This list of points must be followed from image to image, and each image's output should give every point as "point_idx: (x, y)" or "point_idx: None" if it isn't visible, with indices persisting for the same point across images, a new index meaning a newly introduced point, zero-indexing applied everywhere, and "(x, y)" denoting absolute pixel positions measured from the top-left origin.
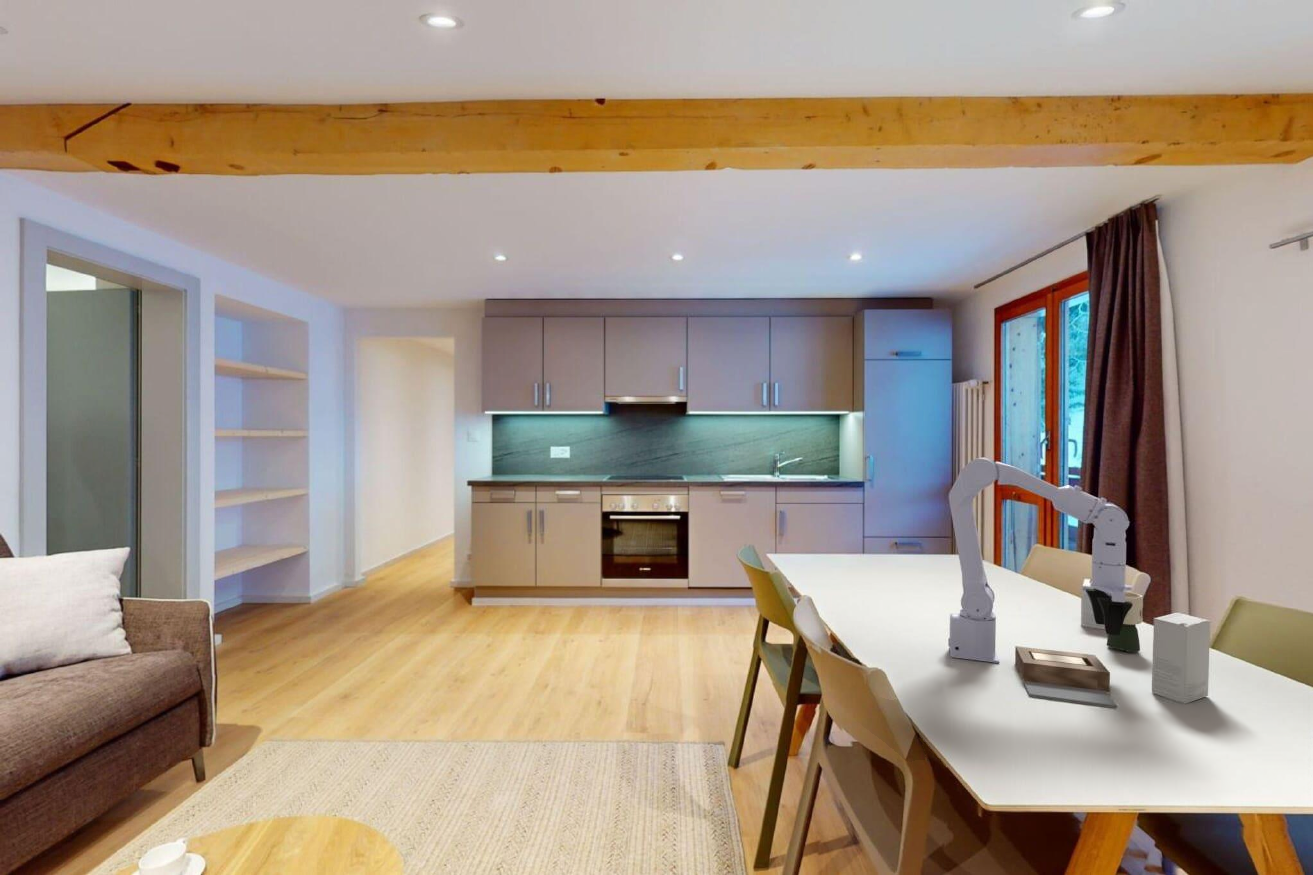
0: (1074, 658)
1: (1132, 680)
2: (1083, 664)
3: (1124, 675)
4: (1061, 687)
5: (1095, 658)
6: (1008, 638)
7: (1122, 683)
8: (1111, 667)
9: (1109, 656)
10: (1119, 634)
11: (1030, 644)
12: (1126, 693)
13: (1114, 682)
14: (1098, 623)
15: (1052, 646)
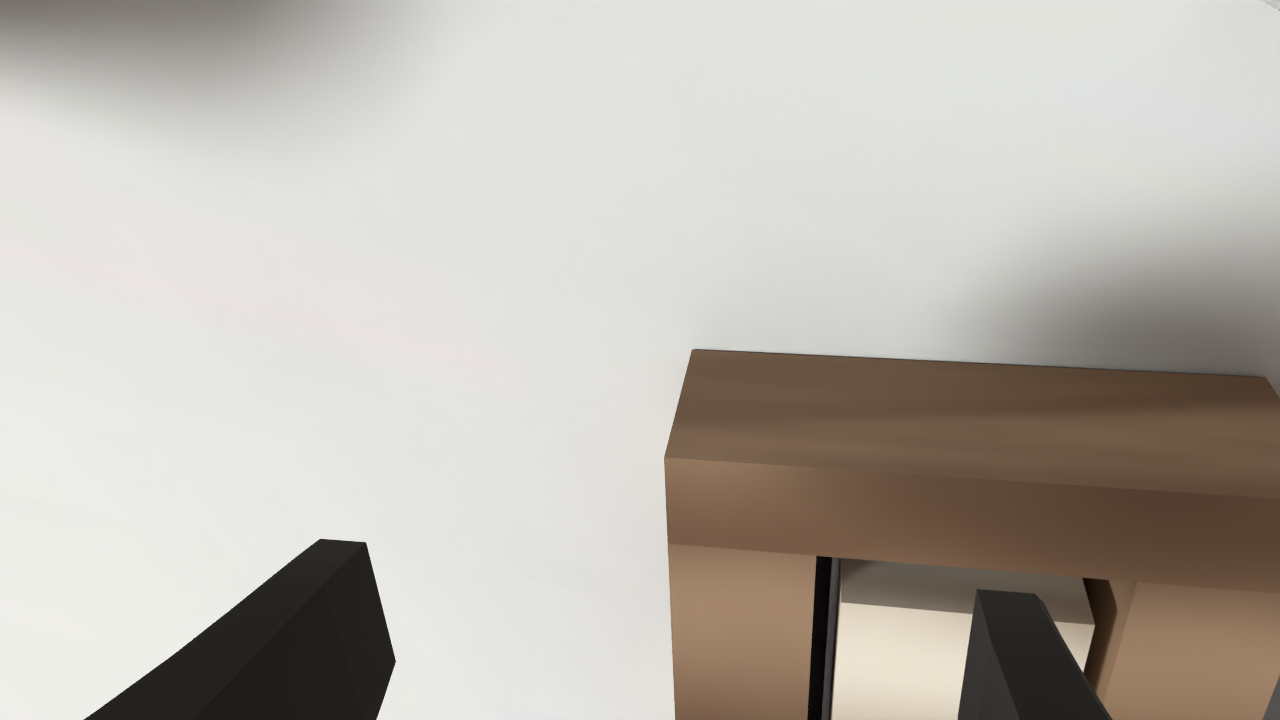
0: (884, 658)
1: (776, 50)
2: (1079, 644)
3: (626, 87)
4: (1277, 710)
5: (805, 488)
6: (68, 690)
7: (924, 182)
8: (402, 145)
9: (5, 62)
10: (1040, 601)
11: (117, 600)
12: (1260, 234)
13: (917, 249)
14: (390, 653)
15: (51, 469)
